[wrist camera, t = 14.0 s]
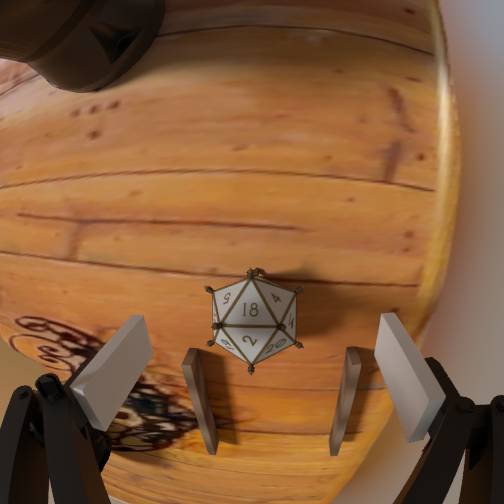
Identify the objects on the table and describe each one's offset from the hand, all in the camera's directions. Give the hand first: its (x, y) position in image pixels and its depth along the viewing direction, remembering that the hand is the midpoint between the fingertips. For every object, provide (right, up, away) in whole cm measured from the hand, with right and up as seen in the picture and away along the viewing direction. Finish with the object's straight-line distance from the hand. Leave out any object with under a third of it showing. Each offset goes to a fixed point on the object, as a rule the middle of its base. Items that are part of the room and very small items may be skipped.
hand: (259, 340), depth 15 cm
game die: (0, 0, +12) cm, 12 cm away
